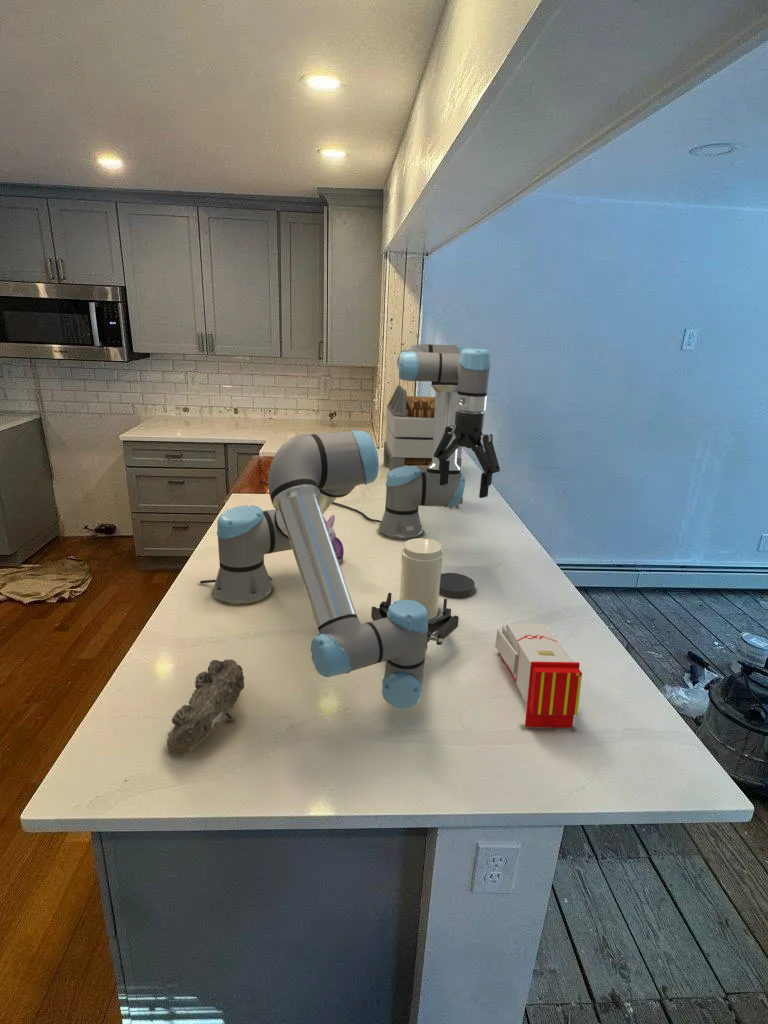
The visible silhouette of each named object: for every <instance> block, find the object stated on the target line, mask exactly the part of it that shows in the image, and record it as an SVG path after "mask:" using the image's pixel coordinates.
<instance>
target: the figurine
mask: <svg viewBox="0 0 768 1024" xmlns="http://www.w3.org/2000/svg"><path fill="white" fill-rule="evenodd" d="M323 518H324V521H325V524H326V527H327V530H328V533H329V535H330V538H331V541H332V544H333V547H334V550H335V553H336V556H337V559H338V562H339V565H341V564H342V562H343V559H344V554H345V553H344V552H345V551H344V544H343V543H342V541H341V540H340V539H339V538H338V537H337V536H336V532H335V530H334V524H335V518H336V515H334V514H332V515H331V516H330V517H329V518H328V520H326V518H325V516H323Z"/></svg>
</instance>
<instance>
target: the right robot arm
mask: <svg viewBox="0 0 768 1024" xmlns="http://www.w3.org/2000/svg"><path fill="white" fill-rule="evenodd" d="M491 356H492V355H491V351H490V350H489V349H484V348H473V347H472V348H471V347H470V348H468V347H467V346H464V345H457V344H427V343H419V344H415V345H411V346H408V347H405V348H403V350H401V351H400V352H399V354H398V356H397V359H396V365H397V369H398V378H399V380H401V381H407V382H431V385H430V386H431V388H432V389H433V390H434V392H435V396H434V397H435V413H434V431H433V450H432V463H431V464H430V465H428V466H426V472H424V471H422V469H421V468H420V467H419V466H407V465H404V467H398V468H395V469H392V470H391V471H390V470H389V471H388V473H387V475H386V482H385V487H386V488H385V489H386V490H385V504H384V505H385V507H384V508H385V509H384V513H383V515H382V519H381V520H379V519H375V518H370V517H368V516H367V515H366V514H365V513H364V512H362V511H360V510H359V509H356V508H353V507H350V506H348V505H345V504H342V503H338V502H335V501H334V502H333V503H332V504H331V505H336V506H339V507H343V508H345V509H348V510H351V511H354V512H355V513H358V514H360V515H362V516H363V517H364V518H365V519H366V520H368V521H370V522H375V523H379V526H378V533H379V534H380V535H381V536H382V537H385V538H387V539H389V540H395V541H408V540H410V539H416V538H420V537H421V536H422V535H423V525H422V524H421V518H420V515H419V507H444V508H456V506H457V505H458V506H459V505H460V504H459V503H460V502H461V499H462V496H463V497H464V493H465V492H464V491H465V486H466V475H465V474H464V473H463V472H462V467H461V468H460V467H459V466H458V465H457V451H458V447H459V446H461V447H462V448H466V449H471V451H472V452H473V453H474V454H475V457H476V458H477V460H478V463H479V464H480V466H481V468H482V470H483V472H481V475H480V476H481V477H480V485H479V494H478V498H480V499H483V498H487V497H489V496H488V495H489V488H490V486H491V485H492V482H493V474H495V473H499V472H500V471H501V467H500V464H499V460H498V457H497V453H496V450H495V446H494V441H493V440H494V437H493V433H487V434H484V433H483V428H484V426H485V419H486V418H485V417H486V414H485V413H484V412H485V411H486V410H487V398H488V389H489V388H488V387H489V380H490V379H489V378H490V371H491V365H492V363H491ZM259 482H260V483H262V484H264V485H266V486H268V482H266V481H264V480H262V479H260V480H259Z"/></svg>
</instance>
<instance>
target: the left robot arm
mask: <svg viewBox="0 0 768 1024" xmlns="http://www.w3.org/2000/svg"><path fill="white" fill-rule="evenodd" d="M270 463H271V464H270V466H269V471H268V476H267V477H268V479H267V483H268V485H267V487H268V493H269V497H270V500H271V505H272V506H273V508H274V509H268V510H262V508H261V507H259V506H256V505H239V506H236V507H232V508H229V509H227V510H226V511H224V512H222V513H221V514H220V515H219V517H218V519H217V526H216V527H217V528H216V529H217V530H216V536H217V544H218V545H217V546H218V561H219V569H218V572H217V576H216V578H215V579H205V580H200V581H199V583H200V584H208V583H209V584H210V583H214V586H213V592H214V598H216V599H217V600H218V601H219V602H221V603H224V604H228V605H236V606H237V605H239V606H240V605H249V604H250V605H251V604H255V603H258V602H261V601H263V600H265V599H267V598H268V597H269V596H270V595H271V593H272V590H273V587H272V586H273V585H272V582H273V579H272V576H270V574H268V571H267V568H266V565H265V555H268V554H273V553H280V552H285V551H286V552H287V551H291V550H292V553H293V556H294V559H295V563H296V565H297V569H298V572H299V575H300V578H301V581H302V584H303V587H304V591H305V594H306V596H307V600H308V603H309V607H310V609H311V613H312V615H313V618H314V622H315V625H316V628H317V631H318V635H315V636H314V637H313V638H312V639H311V641H310V649H309V650H310V653H311V661H312V664H313V666H314V668H315V670H316V672H317V673H318V674H319V675H320V676H321V677H323V678H331V677H336V676H339V675H345V674H347V675H349V673H351V672H354V671H357V670H361V669H363V668H366V667H370V666H373V665H377V664H380V663H383V662H384V663H385V664H384V674H383V678H382V682H381V695H382V697H383V699H384V701H385V702H386V703H387V705H389V706H390V707H393V708H395V709H399V710H406V709H411V708H413V707H414V706H416V705H417V704H418V703H419V701H420V700H421V697H422V692H423V691H424V689H423V686H424V685H423V684H424V676H425V665H426V659H427V651H428V643H429V642H431V641H433V642H436V645H438V646H442V645H443V642H444V640H445V639H446V638H447V637H448V636H450V635H451V634H452V633H453V632H454V631H456V629H457V628H458V627H459V619H460V616H458V615H452V609H451V608H449V607H448V606H447V605H448V598H443V604H442V605H443V606H442V615H441V616H438V617H435V618H433V619H431V620H428V613H427V610H426V608H425V607H424V606H423V605H421V604H420V603H419V602H416V601H413V600H399V599H398V600H395V601H394V602H393V603H392V592H388V593H387V595H386V596H387V597H386V600H385V601H383V600H382V601H381V602H380V603H379V607H377V606H371V613H370V618H371V621H367V622H364V623H361V622H360V620H359V618H358V617H359V616H358V614H357V612H356V609H355V606H354V603H353V600H352V597H351V595H350V591H349V587H348V585H347V583H346V579H345V577H344V574H343V570H342V568H341V564H339V562H338V559H337V556H336V553H335V550H334V547H333V544H332V541H331V538H330V535H329V533H328V530H327V527H326V524H325V521H324V518H325V517H324V515H323V514H324V513H325V512H326V511H327V510H328V509H329V508H330V507H331V505H333V504H332V503H333V502H335V500H337V499H342V498H344V497H346V496H348V495H349V494H350V493H351V492H352V491H353V490H354V489H355V488H356V487H357V486H361V485H365V486H366V485H368V484H371V483H374V482H375V481H376V479H377V477H378V475H379V469H380V467H379V465H380V464H379V454H378V449H377V445H376V443H375V441H374V439H373V437H372V436H371V435H370V434H369V433H368V432H367V431H365V430H354V429H350V430H349V431H337V432H323V433H305V434H298V435H295V436H293V437H291V438H289V439H288V440H286V441H285V442H284V443H283V444H282V445H281V446H280V447H279V448H278V450H276V453H275V455H274V456H273V458H272V460H271V462H270ZM323 517H324V518H323Z"/></svg>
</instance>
